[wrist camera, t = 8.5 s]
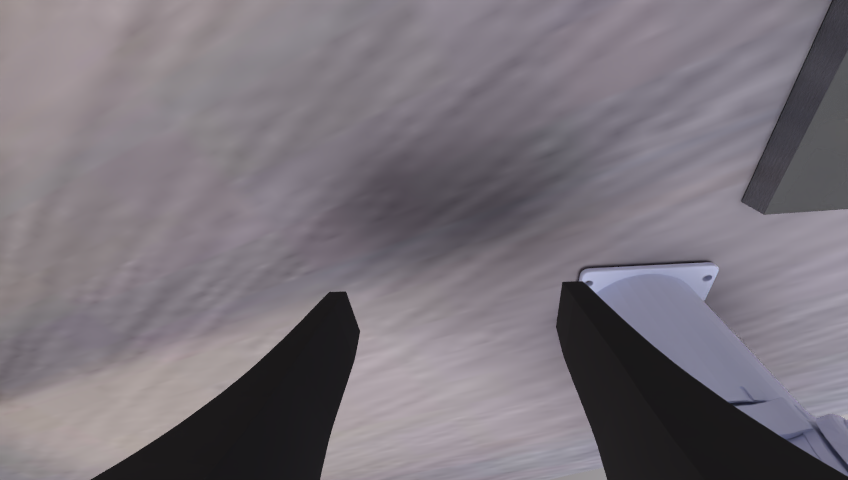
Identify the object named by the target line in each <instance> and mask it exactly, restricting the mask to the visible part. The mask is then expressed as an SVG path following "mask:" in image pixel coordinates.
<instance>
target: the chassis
mask: <svg viewBox="0 0 848 480" xmlns="http://www.w3.org/2000/svg"><path fill="white" fill-rule="evenodd" d="M742 202H743V203H745V204H746V205H748V206H750V207H752V208H753V209H755V210H757V211H759V212H760V213H762V214H764V215H766V214H780V213H795V212H809V211H824V210H838V209H848V0H833V2H832V4H831V7H830V9H829V11H828V13H827V15H826V17H825V20H824V22H823V24H822V26H821V28H820V31H819V33H818V35H817V37H816V39H815V42H814V44H813V46H812V48H811V50H810V53H809V55H808V57H807V59H806V61H805V64H804V66H803V68H802V70H801V72H800V75H799V77H798V79H797V81H796V83H795V86H794V88H793V90H792V92H791V94H790V97H789V99H788V101H787V103H786V105H785V108H784V110H783V112H782V114H781V116H780V119H779V121H778V123H777V125H776V127H775V130H774V132H773V134H772V136H771V138H770V141H769V143H768V145H767V147H766V149H765V152H764V154H763V156H762V158H761V160H760V162H759V165H758V167H757V169H756V171H755V173H754V176H753V178H752V180H751V182H750V184H749V187H748V189H747V191H746V193H745V195H744V198H743V200H742Z"/></svg>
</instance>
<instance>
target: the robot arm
mask: <svg viewBox="0 0 848 480" xmlns="http://www.w3.org/2000/svg"><path fill="white" fill-rule="evenodd" d="M718 271H719V268H718V266H717V265H715V264H714V263H711V262H705V263H686V264H666V265H646V266H627V267H607V268H589V269H585V270H583V271H582V272H581V274H580V278H579V281H576V282H562V289H561V296H560V303H559V310H558V317H557V325H556V328H557V332H558V336H559V340H560V344H561V348H562V352H563V355H564V359H565V361H566V364H567V367H568V369H569V372H570V374H571V377H572V380H573V382H574V385H575V387H576V390H577V392H578V395H579V398H580V400H581V403H582V405H583V408H584V410H585V413H586V416H587V418H588V421H589V423H590V426H591V428H592V431H593V434H594V437H595V440H596V443H597V446H598V449H599V453H600V456H601V459H602V463H603V466H604V470H605V473H606V477H607V480H848V420H846V419H844V418H843V417H841V416H838V415H835V414H828V415H825V416H822V417H819V418H816V417H814V416H813V415H811V414H810V413H808V412H807V411H806V410H805V409H804V408H803V407H802V405H801V404H800V403H799V402H798V401H797V400H796V399H795V398H794V397H793V396H792V395H791V394H790V393H789V392H788V391H787V389H786V388H785V387H784V386H783V385H782V384H781V383H780V382H779V381H778V380H777V379H776V378H775V377H774V376H773V375H772V373H771V372H770V371H769V370H768V369H767V368H766V367H765V366H764V365H763V364H762V363H761V362H760V361H759V360H758V359H757V357H756V356H755V355H754V354H753V353H752V352H751V351H750V350H749V349H748V348H747V347H746V346H745V345H744V344H743V343H742V341H741V340H740V339H739V338H738V337H737V336H736V335H735V334H734V333H733V332H732V331H731V330H730V329H729V328H728V327H727V326H726V324H725V323H724V322H723V321H722V320H721V319H720V318H719V317H718V316H717V315H716V314H715V313H714V312H713V311H712V310H711V308H710V307H709V306H708V305H707V304H706V303H705V302H704V301H705V299H706V297H707V295H708V293H709V290H710V288H711V286H712V284H713V282H714V280H715V278H716V276H717V274H718ZM586 281H589V282H587V283H585V282H586ZM359 334H360V330H359V327H358V324H357V322H356V319H355V316H354V313H353V310H352V307H351V305H350V302H349V299H348V296H347V293H346V292H329V293H328V294H327V295H326V296H325V297H324V298H323V299H322V300H321V301H320V302H319V303H318V304H317V305H316V306H315V307H314V308H313V309H312V310H311V311H310V312H309V313H308V314H307V315H306V316H305V318H304V319H303V320H302V321H301V322H300V323H299V324H298V325H297V326H296V327H295V328H294V329H293V330H292V331H291V332H290V333H289V334H288V335H287V336H286V337H285V338H284V339H283V340H282V341H281V342H279V343H278V344H277V345H276V346H275V347H274V348H273V349H272V350H271V351H270V352H269V353H268V354H267V355H266V356H264V357H263V358H262V359H261V360H260V361H259V362H258V363H257V364H256V365H255V366H254V367H252V368H251V369H250V370H249V371H248V372H247V373H245V374H244V375H243V376H242V377H241V378H239V379H238V380H237V381H236V382H234V383H233V384H232V385H231V386H230V387H228V388H227V389H226V390H225V391H223V392H222V393H221V394H220V395H218V396H217V397H216V398H214V399H213V400H211V401H210V402H209V403H207V404H206V405H205V406H203V407H202V408H201V409H199V410H198V411H196V412H195V413H194V414H192V415H191V416H190V417H188V418H187V419H186V420H184V421H183V422H181V423H180V424H178V425H177V426H176V427H174V428H173V429H171V430H170V431H168V432H167V433H165V434H164V435H162V436H161V437H159V438H158V439H156V440H155V441H153V442H151V443H150V444H148V445H147V446H145V447H144V448H142V449H141V450H139V451H137V452H136V453H134V454H133V455H131V456H129V457H128V458H126V459H125V460H123V461H121V462H120V463H118V464H116V465H115V466H113V467H111V468H110V469H108V470H106V471H105V472H103V473H101V474H99V475H98V476H96V477H94V478H93V479H91V480H320V477H321V472H322V468H323V463H324V459H325V455H326V450H327V446H328V442H329V438H330V434H331V431H332V427H333V424H334V421H335V418H336V415H337V412H338V409H339V406H340V403H341V400H342V397H343V394H344V391H345V388H346V385H347V382H348V378H349V375H350V372H351V369H352V366H353V363H354V360H355V355H356V350H357V345H358V340H359Z"/></svg>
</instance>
